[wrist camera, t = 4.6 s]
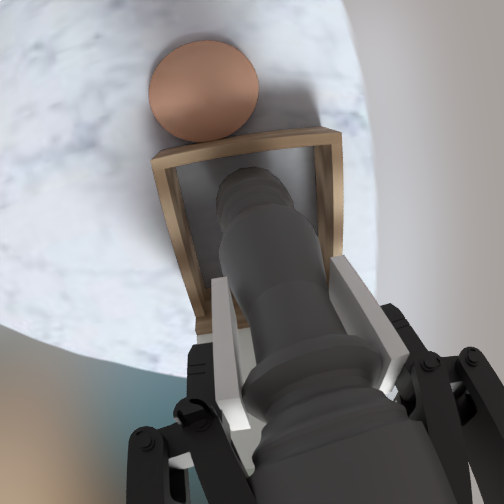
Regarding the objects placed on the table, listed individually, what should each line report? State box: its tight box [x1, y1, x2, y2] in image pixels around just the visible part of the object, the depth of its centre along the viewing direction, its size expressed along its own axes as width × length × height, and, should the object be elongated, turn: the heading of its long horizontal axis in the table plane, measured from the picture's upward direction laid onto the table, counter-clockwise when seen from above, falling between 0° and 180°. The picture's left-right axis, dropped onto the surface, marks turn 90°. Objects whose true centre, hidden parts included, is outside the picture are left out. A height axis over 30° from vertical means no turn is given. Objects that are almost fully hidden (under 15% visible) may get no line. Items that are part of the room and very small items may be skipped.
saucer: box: [149, 40, 259, 142], centre depth 22 cm, size 10×10×1 cm
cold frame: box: [150, 127, 343, 335], centre depth 27 cm, size 25×16×12 cm, turn 7°
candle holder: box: [216, 167, 457, 504], centre depth 14 cm, size 6×6×25 cm
